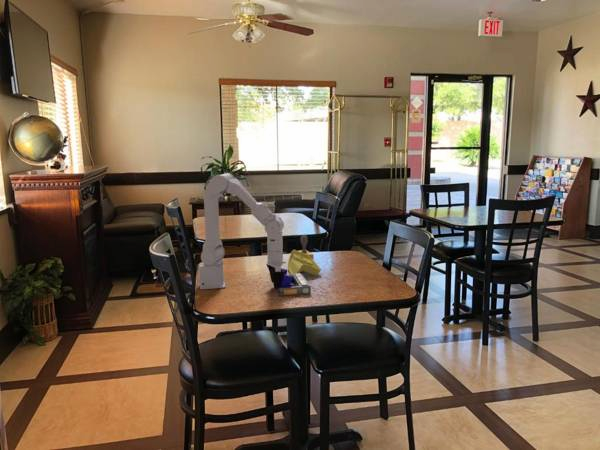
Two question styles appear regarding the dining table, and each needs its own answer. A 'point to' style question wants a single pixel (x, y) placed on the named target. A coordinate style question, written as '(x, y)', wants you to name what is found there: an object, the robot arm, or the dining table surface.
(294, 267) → the plastic component
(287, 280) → the blue arched block
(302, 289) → the rack
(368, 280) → the dining table surface
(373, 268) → the dining table surface
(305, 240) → the rubber stamp
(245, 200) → the robot arm
